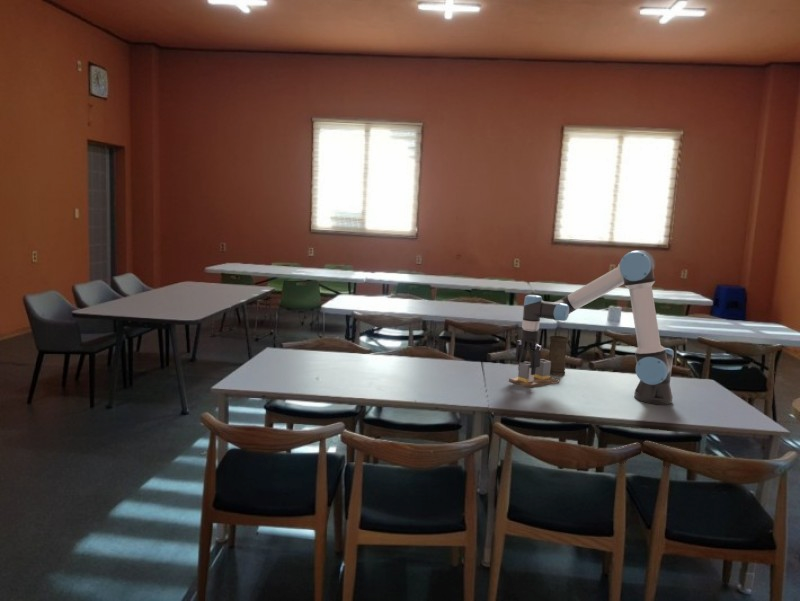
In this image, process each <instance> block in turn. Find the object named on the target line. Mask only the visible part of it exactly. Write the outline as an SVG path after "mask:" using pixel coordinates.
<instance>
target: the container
mask: <svg viewBox="0 0 800 601" xmlns="http://www.w3.org/2000/svg"><path fill="white" fill-rule="evenodd" d="M549 339H550V343H549V354H548V361H551V368H550V375H551V374H552V376H557V375H558V376H559V377H560V376H565V375H566V368H565V367H566V354H567V344H568V340H569V338H568V337H566V336H563V335H562V336H561V335H551V336H549Z"/></svg>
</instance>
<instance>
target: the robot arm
mask: <svg viewBox="0 0 800 601" xmlns="http://www.w3.org/2000/svg"><path fill="white" fill-rule="evenodd" d="M655 269H656V260H655V258H654V256H653V255H652V253H651V252H650V251H647V250H643V249H642V250H641V249H639V250H631V251H629V252H627V253H625V255H623V256H622V258H621V259H620V262H619V263H618V265H617V267H615V268H613V269H612V270H610V271H608V272H606V273H605V274H603V275H601V276H599V277H598V278H596V279H594V280H591V281H590V282H589V283H587V284H585V285H584V286H582V287H579V289H576V290H575V291H573V292H571V293H570V294H568V295H566V296H564V297H562V298H560V299H558V300H556V301H554V302H553V301H545V300H543V298H542V296H541V295H537V294H527V295H526V296H524V301H523V310H522V322H521V328H522V329H521V333H520V334H521V336H520V337H521V339H519V340H517V339H516V341H515V342H516V344H515V345H516V349H515V358H514V359H515V362H516V363H517V364H518V365H519V363H520V362H525V359H526V357H527V353H529V360H530V361H529V362H530V363H531V367H530V368H529V378H528V382H532V381H533V380H534V375H535V371H536V367H540V359H542V358H541V357H542V356H541V354H542V350H543V345H539V343H538V339H539V333H540V331H539V329H540V321H541V319H548V320H554V321H557V322H559V321H561V322H563V321H564V322H565V321H567V320H568V318H569V315H570V314H571V313H573V312H574V311H577V310H578V309H580V308H582V307H583V306H585V305H587V304H589V303H592V302H593V301H594V300H597V299H598V298H600V297H602V296H605V295H607V294H608V293H610V292H611V291H614V290H615V289H617V288H619V287H620V286H622V285H624V287H625V288H626V289H628V290H629V298H630V305H631V310H632V317H633V321H634V323H633V324H634V330H635V336H636V341H637V342H636V343H637V348H636V349H635V351H634V353H635V354H634V355H635V362H636V365H635V375H636V377H637V378H638V379H639V382H638V384H637V386H636V388H635V390H634V395H633V396H634V398H635V399H637V400H639V401H640V402H641V401H642V402H644V403H648V404H654V405H661V406H662V405H663V406H665V405H671V404H672V403H673V394H672V388H671V387H672V386H671V376H672V368H673V361H674V353H675V352H674V350H673V349H672V348H669V347H664V346H663V345H661V338H660V333H659V325H658V318H657V312H656V307H655V306H656V304H655V300H654V293H653V285H654V284H655V282H656V279H655V274H654V270H655ZM517 367H518V368H517V370H518V372H519V366H517Z"/></svg>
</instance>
